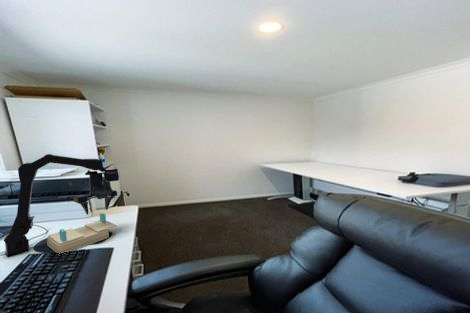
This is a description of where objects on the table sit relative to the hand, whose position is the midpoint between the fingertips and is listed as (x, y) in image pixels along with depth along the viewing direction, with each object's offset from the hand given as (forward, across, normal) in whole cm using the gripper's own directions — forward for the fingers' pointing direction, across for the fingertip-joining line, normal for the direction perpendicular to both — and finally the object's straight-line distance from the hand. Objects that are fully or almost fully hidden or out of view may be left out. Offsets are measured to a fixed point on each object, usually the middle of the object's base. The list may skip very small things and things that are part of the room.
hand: (97, 212), depth 111 cm
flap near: (+7, -14, -2) cm, 16 cm away
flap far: (+7, +1, -2) cm, 8 cm away
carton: (+12, -9, -2) cm, 15 cm away
